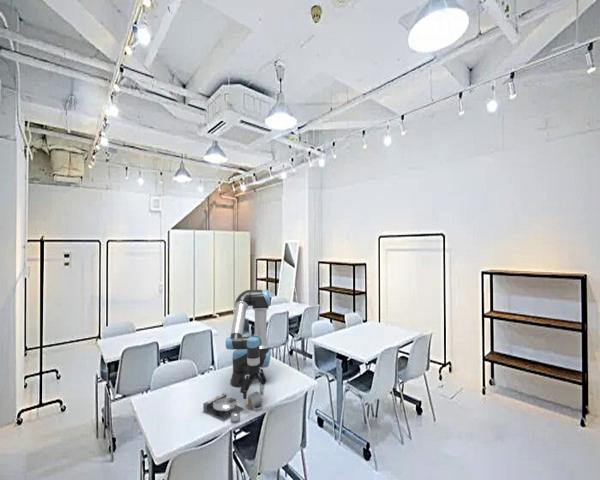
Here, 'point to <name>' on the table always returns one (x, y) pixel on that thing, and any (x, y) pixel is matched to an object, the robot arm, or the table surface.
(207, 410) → the scale base
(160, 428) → the table surface
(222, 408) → the pan
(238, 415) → the steel spacer
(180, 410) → the table surface
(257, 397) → the ceramic mug
